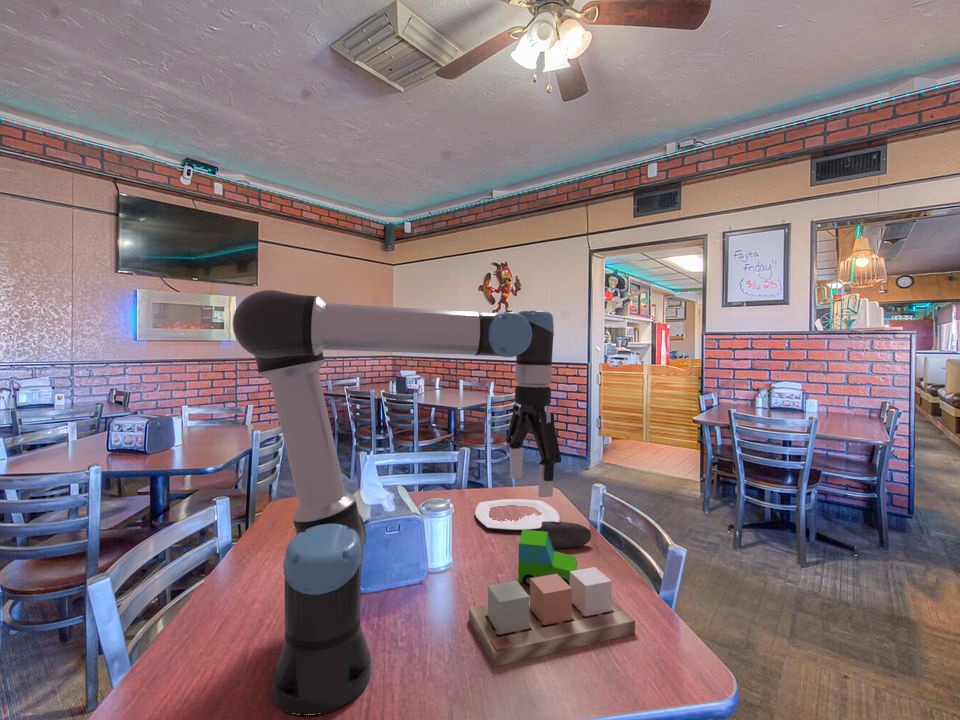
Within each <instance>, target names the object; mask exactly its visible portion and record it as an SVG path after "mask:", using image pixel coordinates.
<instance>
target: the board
mask: <svg viewBox="0 0 960 720" xmlns="http://www.w3.org/2000/svg"><path fill="white" fill-rule="evenodd" d="M578 610H579V609H578V608H577V607H576V606H575V605H574V604H573V603H572V619H571V620H566V621H563V622H564V623H559V624H555V625H550V626H545V627H543V626H542V625H541V624H540V623H539V621H538V620H537V619H538V618H537V616H536V615H535V614H534V612H533V611H532V610H531V609H530V597H529V629H524V630H522V631H523V632H522V631H521V632H517V633H513V634H509V635H508V634H507V635H502V636H501V635H500V636H498V637H497V635H496V633H495V632H494V630H493V628H495V627H494V626H493V624H492V623H491V621H490V619H489V618H488V603H487V604H481V605H477V606H471V607H468V621H469V623H470V625H471V626H472V628H473V631H474V632H475V634H476V636H477V638H478V640H479V642H480V644H481V646H482V648H483V649H484V651H485V653H486V655H487V657H488V658H489V661H490V662H491V665H492V667H495V668H496V667H499V666H502V665H508V664H511V663H515V662H516V663H517V662H519V661H526V660H529V659H533V658H537V657H542V656H546V655H550V654H554V653H558V652H563V651H566V650H570V649H576V648H578V647H579V648H580V647H583V646H587V645H588V646H589V645H592V644H596V643H600V642H605V641H609V640H612V639H618V638H621V637H627V636H630V635H634V634H636V619H634V618H633V617H632V616H630V614H629V613H627V612H626V611H625V610H624V608H623V609H622V607H620V606H619V605H618V604H617V602H614V601H613V600H612V611H609V612H604V613H602V614H601V615H598V616H592V617H591V616H590V617H587V618H584V617H583V616H582V615H581V614H580V613H579V611H578ZM536 618H537V619H536Z"/></svg>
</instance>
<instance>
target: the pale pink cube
mask: <svg viewBox="0 0 960 720" xmlns="http://www.w3.org/2000/svg"><path fill="white" fill-rule="evenodd" d="M570 587H571V588H572V603H573V604H574V605H575V606H576V607H577V608H578V609H577V610H578V612H580V613H581V614H582V615H583V616H584V617H589V616H590V617H591V616H593V615H598V614H603V613H604V612H609V611H612V601H613V595H612V594H613V580H612V579H610V578H609V577H608V576H606V575H605V574H604V573H603V572H602V571H600V570H599V569H598V568H596V567H595V566H593V567H588V568H581V569H577V570H575V571H570Z"/></svg>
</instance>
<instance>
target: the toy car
mask: <svg viewBox="0 0 960 720" xmlns="http://www.w3.org/2000/svg"><path fill="white" fill-rule="evenodd" d="M517 567H518V571H517V572H518V573H517V574H518V577H517V578H518V581H517V582H518V583H519V582H521V583H523V585H524V586H525V587H527V588H530V578H535V577H540V576H546V575H552V574H558V575H559V576H560V577H561V578H562V579H563V580H564V581H565V582H566V583H567V584H568V585H569V586H570V571H575V570H578V560H577V557H576V556H575V555H570V554H566V553H563V552H559V551H556V550H555V548H554V547H553V546H552V543H551V540H550V537H549V535H548V532H544V531H540V530H521V534H520V538H519V540H518V566H517Z"/></svg>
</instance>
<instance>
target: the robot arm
mask: <svg viewBox="0 0 960 720" xmlns="http://www.w3.org/2000/svg"><path fill="white" fill-rule="evenodd" d="M554 325H555V324H554V316H553V315H552V313H551V312H549V311H544V310H521V311H519V312H513V311H503V312H477V311H470V310H469V311H467V310H465V311H463V310H450V309H449V310H447V309H433V308H416V307H398V306H382V305H381V306H379V305H367V304H363V305H361V304H348V303H347V304H346V303H333V302H332V303H331V302H326V301H324V299H323V298H321V296H318V295H305V294H297V293H289V292H286V291H280V290H273V289H270V290H269V289H266V290H260V291H256V292H255V293H252V294H250V295H248V296H247V297H245V298H244V299H243V300H242V301H241V302H240V303H239V304H238V306H237V307H236V309H235V311H234V314H233V319H232V327H233V328H232V329H233V334H234V336H235V338H236V340H237V342H238V344H240V346H241V347H242V348H243V349H244V350H245V351H246V352H248V353H249V354H251V355H253V356H254V359H255V362H256V366H257V371H258V375H259V376H260V377H263V378H265V380H267V381H269V383H270V386H271V391H272V395H273V399H274V404H275V407H276V408H275V409H276V411H277V417H278V420H279V426H280V430H281V435H282V438H283V443H284V446H285V450H286V455H287V459H288V464H289V467H290V473H291V476H292V480H293V485H294V489H295V490H294V491H295V493H296V498H297V503H298V507H297V508H296V509H295V511H294V513H293V514H292V520H293V521H292V522H293V525H294V530H295V533H296V535H295V536H293V538H292V539H291V540H290V542H289V543H288V544H287V547H286V550H285V553H284V554H285V556H284V560H283V574H284V642H283V644H282V647H281V650H280V653H279V657H278V659H277V662H276V666H275V668H274V672H273V674H272V698H274V699H273V701H274V703H275V704H277V705H278V706H279V707H280V708H281V709H280V708H279V707H278V706H277V705H276V706H277V707H278V708H279V709H280V710H282V711H283V710H284V711H283V712H285V711H287V712H289V713H288V714H290V713H295V714H300V715H304V714H305V715H306V714H307V715H308V714H318V713H325V712H328V713H330V712H329V711H331V712H333V711H332V710H334V711H336V710H335V709H337V708H339V709H340V707H341V708H342V706H343V707H344V705H345V704H346V705H348V704H350V703H351V702H353V701H354V700H355V699H356V698H358V697H359V695H361V693H363V691H364V690H365V689H366V687H367V685H368V683H369V682H370V679H371V676H372V675H371V674H372V656H371V652H370V649H369V645H368V643H367V641H366V638H365V635H364V632H363V629H362V626H361V591H362V590H361V587H362V584H361V581H362V566H363V558H364V549H365V546H366V537H367V529H366V525H365V522H364V520H363V517H362V516H361V514H360V513H359V508H358V504H357V501H356V497H355V494H352V493H350V492H348V491H347V490H346V488H345V484H344V479H343V475H342V471H341V466H340V461H339V457H338V452H337V449H336V444H335V439H334V435H333V430H332V425H331V421H330V417H329V414H328V413H329V412H328V408H327V403H326V400H325V399H326V398H325V395H324V389H323V386H322V382H321V377H320V372H319V371H320V369H321V368H322V367H323V365H324V363H325V357H324V353H323V351H325V350H326V351H349V352H350V351H351V352H352V351H353V352H354V351H355V352H356V351H357V352H378V353H379V352H382V353H383V352H386V353H406V354H407V353H409V354H410V353H411V354H412V353H413V354H439V355H440V354H442V355H463V356H464V355H466V356H470V355H471V356H476V357H477V356H485V357H486V356H487V357H502V358H514V357H515V372H514V373H515V376H514V378H515V379H514V383H515V384H517V385H516V386H515V387H514V403H515V404H513V407H512V414H511V419H510V423H509V427H508V431H507V434H506V438H505V442H506V444H508V446H509V448H510V451H509V452H510V454H509V456H510V457H509V478H510V479H520V478H522V477H523V461H524V460H523V458H524V456H523V455H524V454H523V453H524V447H525V445H524V444H523V443H524V441H525V439H526V437H527V435H528V432H530V433H531V434H532V435H533V437H534V440H535V443H536V447H537V450H538V453H539V456H540V459H541V460H540V461H539V467H538V468H539V469H538V470H539V472H538V494H537V495H538V497H539V498H550V497H553V495H554V494H553V491H554V475H555V474H554V473H555V471H554V470H555V465H556V464H559V463H561V462H562V456H561V452H560V447H559V442H558V437H557V432H556V427H555V414H554V412H553V411H546V408H545V407H546V406H549V405H551V403H552V388H551V387H550V386H549V385H551V384H552V375H553V368H552V365H553V347H554V336H555V331H554V330H555V329H554V328H555V327H554ZM349 702H350V703H349ZM347 703H348V704H347ZM346 705H345V706H346ZM337 710H338V709H337ZM287 712H286V713H287ZM325 714H326V713H325Z"/></svg>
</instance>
